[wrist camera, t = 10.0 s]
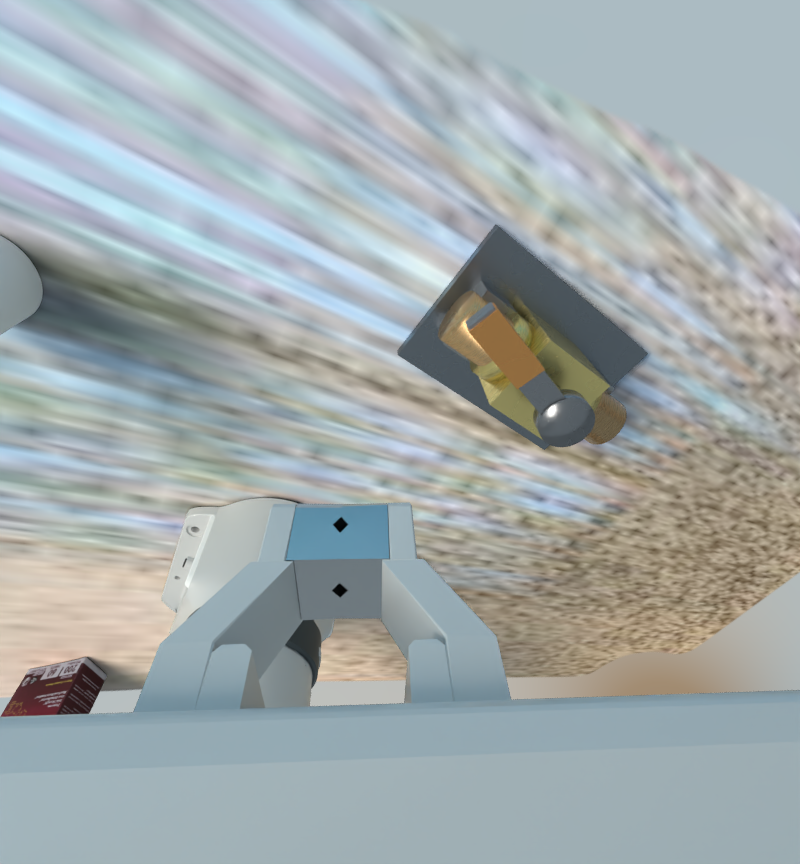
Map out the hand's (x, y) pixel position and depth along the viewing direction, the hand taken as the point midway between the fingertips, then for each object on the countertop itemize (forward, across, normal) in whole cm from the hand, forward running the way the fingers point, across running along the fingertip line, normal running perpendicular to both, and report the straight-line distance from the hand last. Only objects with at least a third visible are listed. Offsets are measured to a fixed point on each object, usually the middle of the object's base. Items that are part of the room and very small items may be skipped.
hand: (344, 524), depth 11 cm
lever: (+19, -11, +6) cm, 23 cm away
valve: (+29, -13, +9) cm, 33 cm away
